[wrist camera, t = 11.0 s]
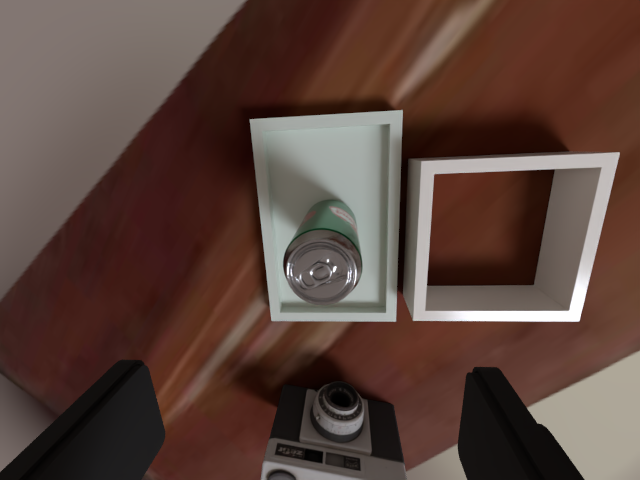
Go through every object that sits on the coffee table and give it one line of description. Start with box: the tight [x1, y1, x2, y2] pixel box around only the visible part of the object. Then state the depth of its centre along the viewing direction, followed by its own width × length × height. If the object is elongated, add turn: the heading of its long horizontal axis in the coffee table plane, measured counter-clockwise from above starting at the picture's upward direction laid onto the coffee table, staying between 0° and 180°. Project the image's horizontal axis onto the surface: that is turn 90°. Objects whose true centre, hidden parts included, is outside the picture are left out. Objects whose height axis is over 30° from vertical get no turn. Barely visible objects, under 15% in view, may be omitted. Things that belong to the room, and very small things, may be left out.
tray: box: [250, 110, 403, 321], centre depth 29 cm, size 20×13×2 cm, turn 3°
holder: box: [403, 151, 620, 321], centre depth 27 cm, size 14×14×5 cm
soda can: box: [283, 200, 363, 305], centre depth 23 cm, size 5×5×12 cm
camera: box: [261, 381, 407, 480], centre depth 32 cm, size 14×8×10 cm, turn 81°
